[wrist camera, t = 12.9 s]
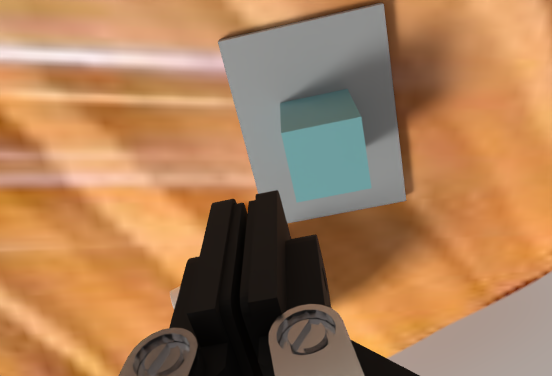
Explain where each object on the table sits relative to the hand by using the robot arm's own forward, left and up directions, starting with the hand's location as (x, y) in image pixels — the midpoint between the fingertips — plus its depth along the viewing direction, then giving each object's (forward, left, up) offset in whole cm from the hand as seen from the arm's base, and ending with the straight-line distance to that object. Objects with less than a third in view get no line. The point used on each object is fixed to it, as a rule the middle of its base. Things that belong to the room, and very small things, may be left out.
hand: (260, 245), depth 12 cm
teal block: (+7, +2, -26) cm, 27 cm away
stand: (+7, +2, -27) cm, 28 cm away
